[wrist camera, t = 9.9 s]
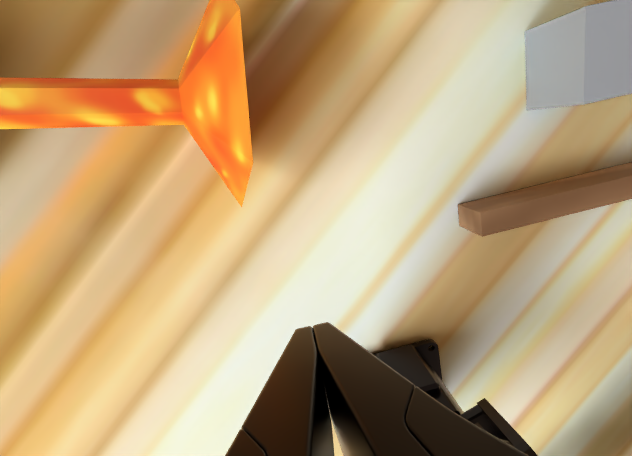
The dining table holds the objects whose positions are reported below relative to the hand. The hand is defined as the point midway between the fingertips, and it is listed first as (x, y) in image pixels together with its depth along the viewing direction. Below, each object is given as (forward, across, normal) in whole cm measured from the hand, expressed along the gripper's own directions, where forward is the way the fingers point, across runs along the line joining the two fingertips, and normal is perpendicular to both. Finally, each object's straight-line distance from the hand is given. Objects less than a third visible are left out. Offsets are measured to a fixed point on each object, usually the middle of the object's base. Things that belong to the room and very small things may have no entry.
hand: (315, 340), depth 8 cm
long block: (+11, -16, -6) cm, 20 cm away
